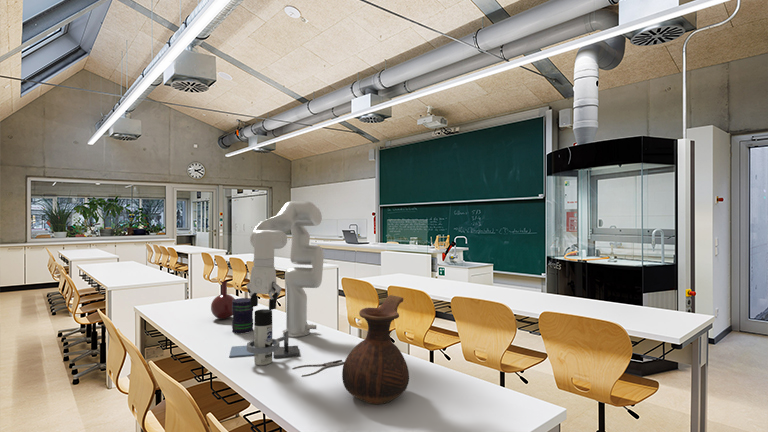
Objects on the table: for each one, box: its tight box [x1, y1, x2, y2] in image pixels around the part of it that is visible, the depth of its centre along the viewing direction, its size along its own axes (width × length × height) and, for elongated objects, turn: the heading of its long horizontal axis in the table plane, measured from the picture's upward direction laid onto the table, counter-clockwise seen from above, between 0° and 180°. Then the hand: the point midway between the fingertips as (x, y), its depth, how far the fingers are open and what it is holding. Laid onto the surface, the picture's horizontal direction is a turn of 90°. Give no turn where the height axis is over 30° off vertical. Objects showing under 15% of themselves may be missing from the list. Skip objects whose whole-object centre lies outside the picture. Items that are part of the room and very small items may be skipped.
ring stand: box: [246, 330, 300, 359], centre depth 164 cm, size 20×20×9 cm
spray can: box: [253, 308, 273, 366], centre depth 159 cm, size 7×7×20 cm
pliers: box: [292, 359, 345, 377], centre depth 156 cm, size 10×1×20 cm
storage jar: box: [231, 297, 254, 334], centre depth 202 cm, size 10×10×15 cm
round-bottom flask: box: [210, 280, 235, 320], centre depth 224 cm, size 13×13×20 cm
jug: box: [341, 294, 410, 405], centre depth 132 cm, size 22×22×30 cm
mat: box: [228, 345, 254, 358], centre depth 172 cm, size 12×12×1 cm
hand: (263, 307), depth 159 cm, fingers open, 9 cm apart
